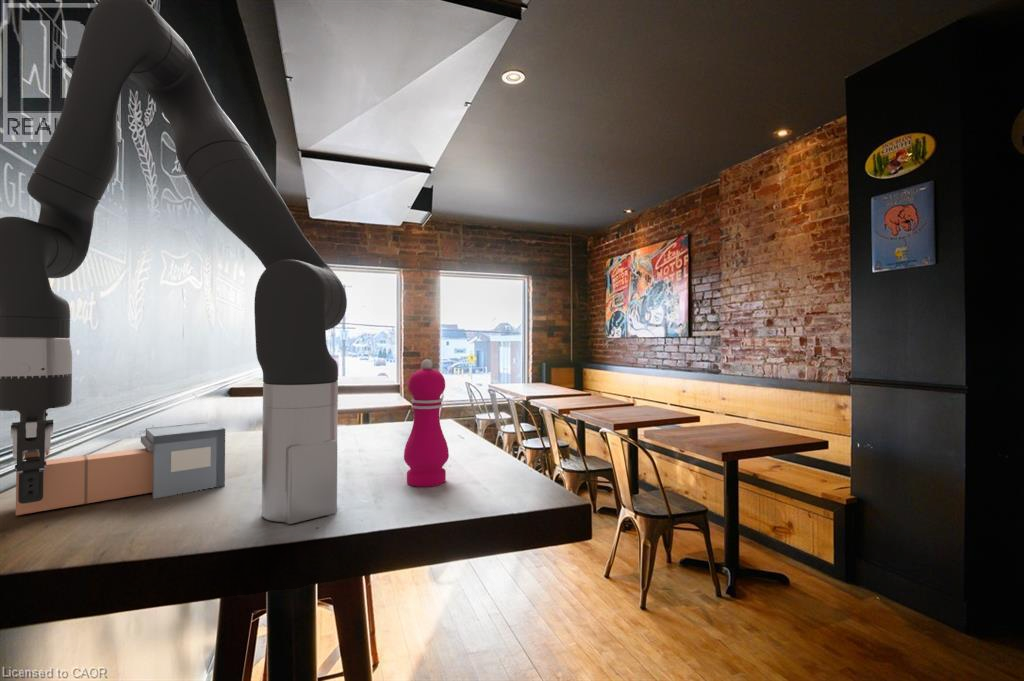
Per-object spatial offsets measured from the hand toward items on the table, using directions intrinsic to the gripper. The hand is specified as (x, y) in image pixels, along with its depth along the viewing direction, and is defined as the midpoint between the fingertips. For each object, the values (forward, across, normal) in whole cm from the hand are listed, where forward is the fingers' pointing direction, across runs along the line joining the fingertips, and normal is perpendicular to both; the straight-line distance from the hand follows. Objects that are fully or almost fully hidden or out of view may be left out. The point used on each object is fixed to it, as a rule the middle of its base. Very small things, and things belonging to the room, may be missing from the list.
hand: (32, 494), depth 63 cm
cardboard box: (+2, 0, -6) cm, 6 cm away
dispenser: (+2, 0, -17) cm, 17 cm away
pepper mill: (+2, -24, -46) cm, 52 cm away
